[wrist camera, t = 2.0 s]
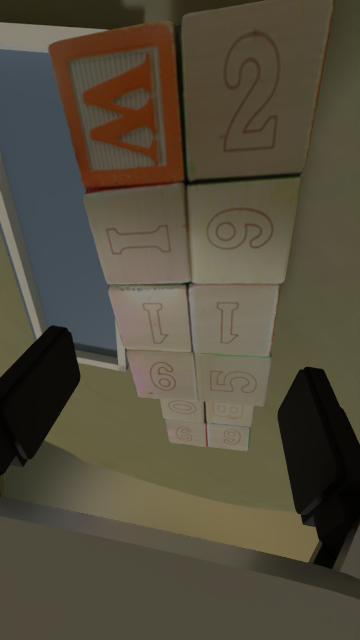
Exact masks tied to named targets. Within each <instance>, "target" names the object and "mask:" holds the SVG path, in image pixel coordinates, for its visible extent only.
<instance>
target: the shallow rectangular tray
mask: <svg viewBox="0 0 360 640" xmlns="http://www.w3.org/2000/svg"><path fill="white" fill-rule="evenodd" d="M102 31H107V30H105V29H90V28H76V27H61V26H46V25H32V24H17V23H2V22H0V231H1V234H2V237H3V240H4V243H5V247H6V250H7V253H8V256H9V259H10V262H11V266H12V269H13V272H14V275H15V278H16V281H17V284H18V288H19V291H20V294H21V297H22V300H23V303H24V307H25V310H26V313H27V316H28V319H29V322H30V326H31V329H32V332H33V335H34V338H35V341H36V340H37V339H38V338H39V337H40V336H41V335H42V334H43V333H44V332H45V331H46V330H47V329H48V328H49V327H50V326H52V325H55V326H61V327H66V328H67V329H68V331H70V332H71V333H72V338H73V342H74V347H75V352H76V357H77V361H78V363H83V364H88V365H93V366H98V367H103V368H108V369H114V370H119V371H124V372H126V371H127V369H128V367H130V366H129V362H128V359H127V355H126V350H127V349H126V348H125V347H124V346H123V344H122V340H121V337H120V333H119V330H118V326H117V323H116V319H115V316H114V312H113V309H112V306H111V302H110V298H109V295H108V287H109V285H110V284H108V283H107V282H106V280H105V277H104V273H103V270H102V266H101V263H100V260H99V256H98V252H97V249H96V245H95V241H94V238H93V234H92V231H91V228H90V224H89V220H88V216H87V212H86V209H85V206H84V203H83V197H84V194H85V192H86V189H85V187H84V186H83V184H82V181H81V177H80V173H79V169H78V165H77V161H76V157H75V153H74V150H73V147H72V142H71V138H70V134H69V130H68V126H67V122H66V118H65V114H64V111H63V107H62V103H61V99H60V95H59V92H58V88H57V84H56V80H55V76H54V73H53V69H52V64H51V60H50V56H49V52H48V46H49V44H52V43H54V42H57V41H60V40H64V39H69V38H74V37H79V36H83V35H88V34H93V33H98V32H102Z"/></svg>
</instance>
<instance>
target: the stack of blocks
mask: <svg viewBox="0 0 360 640" xmlns="http://www.w3.org/2000/svg"><path fill="white" fill-rule="evenodd" d="M333 6H334V0H264V1H258V2H253V3H247V4H242V5H236V6H230V7H224V8H218V9H212V10H205V11H199V12H193V13H188V14H186V15H183V18H182V20H181V23H180V25H179V26H176V25H175V24H174V23H173V22H172V21H154V22H148V23H143V24H138V25H133V26H128V27H123V28H118V29H113V30H107V31H102V32H98V33H93V34H88V35H83V36H79V37H74V38H69V39H64V40H60V41H57V42H54V43H52V44H49V46H48V52H49V56H50V60H51V64H52V69H53V73H54V76H55V80H56V84H57V88H58V92H59V95H60V99H61V103H62V107H63V111H64V114H65V118H66V122H67V126H68V130H69V134H70V138H71V142H72V147H73V150H74V153H75V157H76V161H77V165H78V169H79V173H80V177H81V181H82V184H83V186H84V187H85V189H86V192H85V194H84V197H83V203H84V206H85V209H86V212H87V216H88V220H89V224H90V228H91V231H92V234H93V238H94V241H95V245H96V249H97V252H98V256H99V260H100V263H101V266H102V270H103V273H104V277H105V280H106V282H107V283H108V284H110V285H109V287H108V295H109V298H110V302H111V306H112V309H113V312H114V316H115V319H116V323H117V326H118V330H119V333H120V337H121V340H122V344H123V346H124V347H125V348H126V349H127V350H126V355H127V359H128V362H129V366H130V369H131V373H132V376H133V380H134V384H135V387H136V390H137V394H138V396H139V397H144V398H157V399H160V402H161V407H162V413H163V417H164V418H165V421H166V428H167V434H168V439H169V442H172V443H180V444H188V445H195V446H202V447H206V446H210V447H217V448H225V449H233V450H241V451H248V448H249V438H250V427H251V426H252V418H253V410H254V406H265V402H266V395H267V388H268V381H269V374H270V367H271V361H272V356H271V346H272V341H273V334H274V327H275V319H276V313H277V306H278V299H279V288H280V285H281V284H282V283H283V282H284V280H285V277H286V272H287V266H288V260H289V254H290V247H291V241H292V234H293V228H294V222H295V216H296V211H297V205H298V199H299V193H300V187H301V179H300V174H301V172H302V171H303V169H304V167H305V164H306V162H307V156H308V149H309V143H310V138H311V132H312V127H313V121H314V116H315V110H316V105H317V99H318V94H319V88H320V82H321V77H322V71H323V66H324V60H325V55H326V49H327V43H328V37H329V31H330V26H331V20H332V14H333Z"/></svg>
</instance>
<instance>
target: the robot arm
mask: <svg viewBox="0 0 360 640" xmlns="http://www.w3.org/2000/svg"><path fill="white" fill-rule="evenodd" d="M79 381H80V371H79V366H78V361H77V357H76V352H75V347H74V342H73V338H72V333H71V332H70V331H68V329H67V328H66V327H61V326H55V325H52V326H50V327H49V328H48V329H47V330H46V331H45V332H44V333H43V334H42V335H41V336H40V337H39V338H38V339H37V340H36V341H35V342H34V343H33V344H32V345H31V346H30V347H29V348H28V349H27V350H26V351H25V352H24V354H23V355H22V356H21V357H20V358H19V359H18V360H17V361H16V362H15V363H14V364H13V365H12V366H11V367H10V368H9V369H8V370H7V371H6V372H5V373H4V374H3V375H2V376H1V377H0V640H360V444H359V442H358V440H357V438H356V435H355V433H354V431H353V429H352V426H351V424H350V422H349V420H348V418H347V415H346V413H345V412H344V410H343V409H342V408H341V407H340V405H339V403H338V401H337V398H336V396H335V394H334V392H333V389H332V387H331V385H330V383H329V380H328V378H327V376H326V374H325V372H324V370H323V369H319V368H313V367H305V368H304V370H302V369H301V370H299V372H298V374H297V376H296V378H295V379H294V381H293V383H292V385H291V387H290V389H289V391H288V393H287V395H286V397H285V399H284V400H283V402H282V404H281V406H280V408H279V410H278V423H279V428H280V433H281V438H282V443H283V448H284V454H285V459H286V464H287V469H288V474H289V479H290V484H291V489H292V495H293V500H294V505H295V509H296V511H297V513H298V514H301V518H302V523H303V525H308V526H313V527H316V530H317V534H318V538H319V542H318V544H317V546H316V548H315V551H314V552H313V554H312V556H311V558H310V560H309V562H308V563H306V562H302V561H298V560H293V559H290V558H286V557H281V556H277V555H273V554H269V553H264V552H260V551H255V550H251V549H246V548H242V547H237V546H233V545H228V544H223V543H218V542H214V541H210V540H205V539H200V538H196V537H191V536H187V535H182V534H177V533H172V532H168V531H163V530H159V529H154V528H149V527H145V526H140V525H135V524H131V523H126V522H121V521H116V520H112V519H107V518H102V517H98V516H93V515H88V514H84V513H79V512H74V511H69V510H64V509H60V508H54V507H50V506H45V505H40V504H36V503H31V502H26V501H21V500H15V499H9V498H6V494H5V478H4V473H5V471H6V470H7V468H8V467H9V465H14V466H19V467H23V466H24V465H25V463H26V462H27V460H28V459H32V457H33V456H34V455H35V454H36V452H37V450H38V449H39V447H40V446H41V444H42V442H43V441H44V439H45V437H46V436H47V434H48V433H49V431H50V429H51V428H52V426H53V424H54V423H55V421H56V419H57V418H58V416H59V415H60V413H61V411H62V410H63V408H64V406H65V405H66V403H67V401H68V400H69V398H70V397H71V395H72V393H73V392H74V390H75V388H76V387H77V385H78V383H79Z"/></svg>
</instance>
